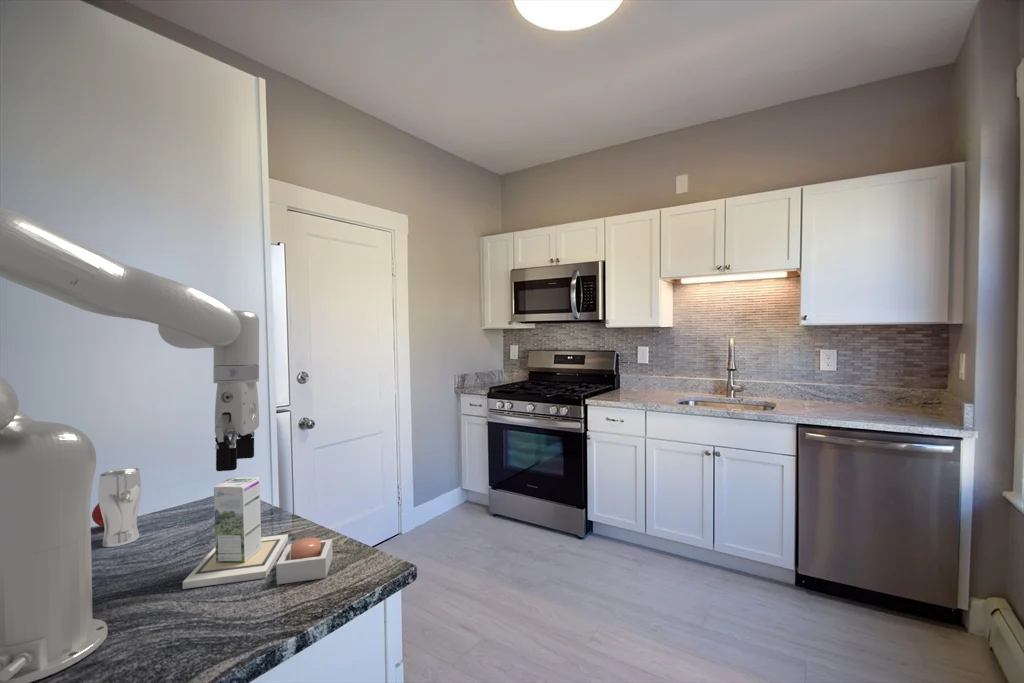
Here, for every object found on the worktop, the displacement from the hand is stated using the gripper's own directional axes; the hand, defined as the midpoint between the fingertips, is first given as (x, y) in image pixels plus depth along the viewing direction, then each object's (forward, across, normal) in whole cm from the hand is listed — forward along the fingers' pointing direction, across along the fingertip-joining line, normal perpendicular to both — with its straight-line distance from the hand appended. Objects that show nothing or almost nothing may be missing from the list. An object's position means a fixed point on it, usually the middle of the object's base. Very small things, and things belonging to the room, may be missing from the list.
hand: (236, 463), depth 86 cm
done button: (+17, -6, -14) cm, 22 cm away
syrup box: (+18, 0, 0) cm, 18 cm away
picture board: (+19, +1, -1) cm, 19 cm away
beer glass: (+19, +19, +28) cm, 39 cm away
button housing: (+19, -6, -14) cm, 24 cm away
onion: (+19, +28, +35) cm, 49 cm away
